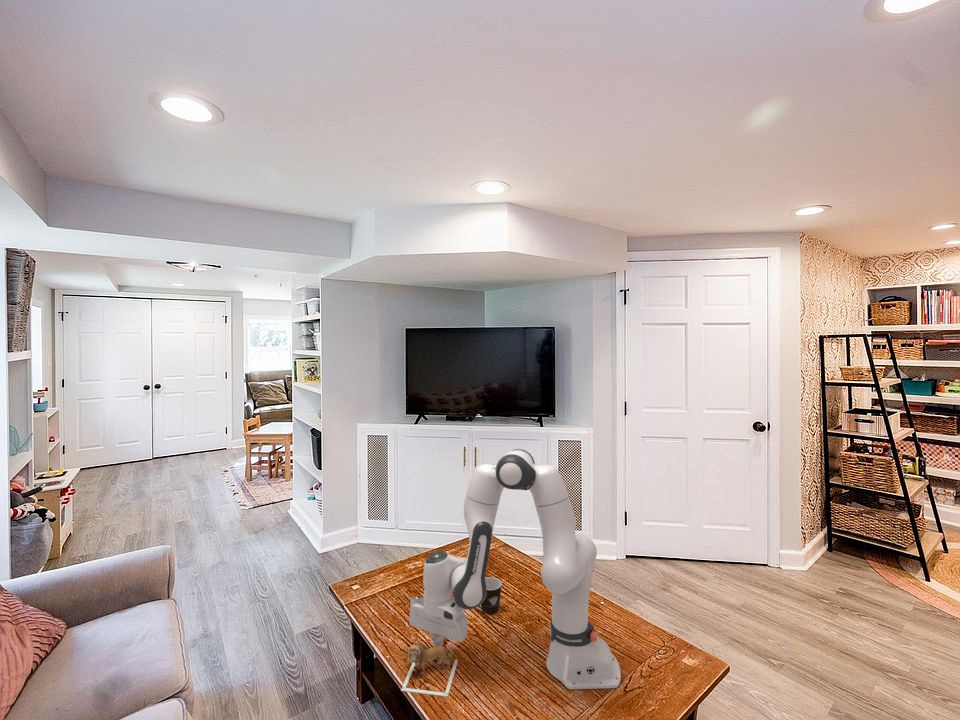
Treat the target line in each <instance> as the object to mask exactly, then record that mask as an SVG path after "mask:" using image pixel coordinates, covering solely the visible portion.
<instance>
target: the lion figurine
mask: <svg viewBox="0 0 960 720" xmlns="http://www.w3.org/2000/svg"><path fill="white" fill-rule="evenodd" d="M437 658H438V659H439V660H438V661H436V665H441V663H444V664H446V666H445V669H446V670H447V671H448V670H450V669H451V663H454V661H455V659H451V656H450V653H449V651H448V649H447V648H446V646H443V645H442V646H441V645H438V646H436V645H435V646H433V647H427V646H425V645H422V644H419V643H418V644H417V643H415V644H412V645H410V646H409V647H408V650H407V659H408V660H409V661H410V662H412V663H415V665H417V669H421V670H420V675H424V674H425V672H426V664H427V662H431V661H434V660H436V659H437ZM412 663H411V664H412Z"/></svg>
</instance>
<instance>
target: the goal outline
mask: <svg viewBox="0 0 960 720" xmlns="http://www.w3.org/2000/svg"><path fill="white" fill-rule="evenodd" d="M458 662H459V659H454V662H453V665H452V669H451V672H450V675H449V679H448V682H447V686H446V689H445V691H444V692H442V691H433V690H426V689H425V690H424V689H417V688H409V687H407V686H408V684H409V681H410V678H411V676H412V673H413V671H414V669H415V666H416V664H415V663H411V666H410V668H409V670H408V673H407V675H406V677H405V679H404V682H403V684H402V687H401V689H400V691H401V692H407V693H414V694H423V695H431V696H437V697H449V693H450V690H451V686H452V683H453V679H454V676H455V673H456V672H455V671H456V669H457V665H458Z"/></svg>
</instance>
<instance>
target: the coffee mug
mask: <svg viewBox="0 0 960 720" xmlns="http://www.w3.org/2000/svg"><path fill="white" fill-rule="evenodd" d="M485 583H486V588H487V595H486V598H485V600H484V601H483V603H482V604H481V605H480V606H481V611H482V612H483V613H484V614H486V615H494V614H497V613H498V612H499V609H500V604H501V603H500V602H501V601H500V600H501V594H502V593H501V592H502V581H501V580H500V579H499V578H496V577H493V576H492V577H491V576H490V577H489V576H488V577H485Z"/></svg>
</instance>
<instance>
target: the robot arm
mask: <svg viewBox="0 0 960 720" xmlns="http://www.w3.org/2000/svg"><path fill="white" fill-rule="evenodd" d="M504 489H508V490H514V491H515V490H517V491H519V490H520V491H528V490H529V492H530V493H531V497H532V499H533V502H534V506H535V509H536V513H537V514H536V515H537V517H538V519H539V524H540V529H541V536H542V549H543V551H542V553H543V554H542V555H543V557H542V565H541V570H540V577H541V580H542V583H543V585H544V586H545V587H546V589H547V590H548V591H550V592H551V593H552V594H551V595H552V596H551V618H550V623H549V639H550V644H549V650H548V655H547V658H546V663H545V664H546V668H547V670H548V672H549V674H551V676H553V677H554V678H555V679H556V680H558V681H560V683H562V684H563V685H564V686H565V687H566V689H568V690H591V689H593V690H594V689H596V690H597V689H617V688H618V687H619V686H620V684H621V682H622V681H621V680H622V676H621V675H622V674H621V667H620V664H619V661H618V660H617V658H616V656H615V655H614V654H613V653H612V652H611V649H610V647H609V645H608V643H607V642H606V640H604V639H603V638H601V637H600V636H598V635H597V633H596V632H595V626H594V623H593V621H592V620H590V622H589V599H590V592H591V587H592V582H593V574H594V568H595V563H596V559H597V554H598V551H597V550H598V549H597V547H596V544H595V542H594V541H593V540H592V539H591V538H590V537H589V536H587V535H584V534H576V528H577V527H576V526H577V517H576V516H575V513H574V509H573V505H572V502H571V498H570V495H569V492H568V489H567V486H566V483H565V482H564V479H563V477H562V475H561V473H560V471H559V469H558V468H557V467H556V466H554V465H551V464H542V465H536V464H535V459H534V456H532V454H531V453H529V452H528V451H527V450H525V449H521V448H516V449H513V450H510V451H508V452H506V453H504V454H503V456H502V457H501V458H500V459H499V460H498V461H497V463H496V465H494V464H490V463H484V464H479V465H478V466H476V468H475V470H474V472H473V474H472V476H471V477H470V481H469V483H468V487H467V490H466V494H465V498H464V504H463V506H464V507H463V517H464V521H465V525H466V529H467V533H468V538H469V539H468V540H469V544H468V552H467V556H462V557H461V556H460V557H458V556H453V555H451V554H449V553H448V552H446V551H444V550H439V551H435V552H432V553H430V554H429V555H428V556H427V557H426V559H425V560H424V566H423V573H422V575H423V577H422V579H423V581H422V582H423V587H424V591H423V598H419V597H418V596H414V597H412V598H411V599H410V601H409V603H410V604H409V606H410V610H409V616H408V618H409V619H408V621H409V622H408V623H409V624H410V626H411V627H413V628H416V629H419V630H423V631H426V632H429V633H428V634H429V636H430V638H431V641H432V646H435V647H436V646H438V645H441V646H443V644H444V639H445V638H447V639H450V640H451V641H452V640H453V641H456V642H459V643H462V642H463V641H464V640H465V639H466V638H467V636H468V620H467V616H466V613H465V610H468V611H469V610H473V609H477V608H478V607H479V606H481V604H482V603H483V601H484V600H485V598H486V595H487V588H486V583H485V578H486V572H487V566H488V562H489V561H488V560H489V556H490V549H491V543H492V538H493V537H492V535H493V531H494V526H495V521H496V517H497V513H498V509H499V504H500V501H501V497H502V493H503V490H504ZM452 594H453V595H452ZM437 635H438V636H437Z"/></svg>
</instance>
